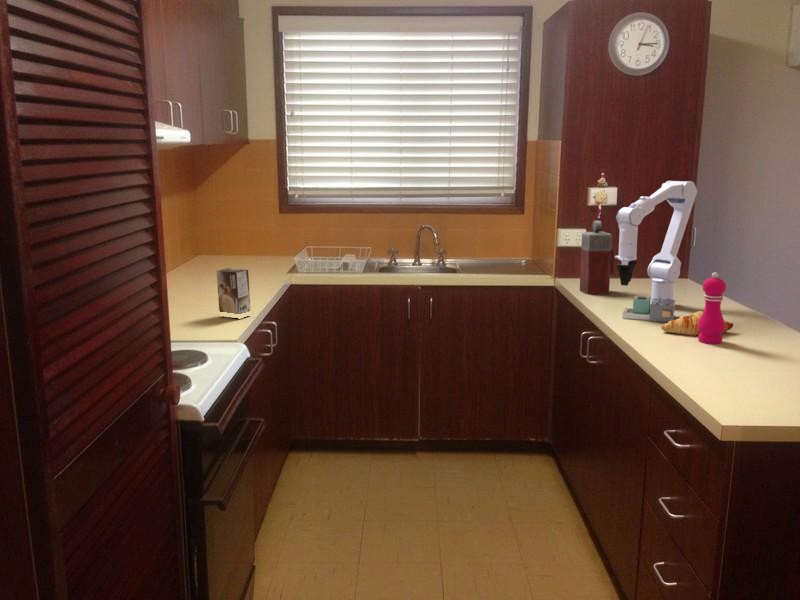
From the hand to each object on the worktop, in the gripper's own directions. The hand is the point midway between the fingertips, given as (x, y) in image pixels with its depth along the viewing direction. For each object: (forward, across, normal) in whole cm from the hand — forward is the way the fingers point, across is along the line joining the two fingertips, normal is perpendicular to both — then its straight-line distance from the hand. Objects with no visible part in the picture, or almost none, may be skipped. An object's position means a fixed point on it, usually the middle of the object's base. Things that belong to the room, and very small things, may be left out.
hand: (625, 283), depth 240 cm
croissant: (+10, +22, +23) cm, 33 cm away
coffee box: (+10, +54, -121) cm, 133 cm away
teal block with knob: (+9, +6, +6) cm, 12 cm away
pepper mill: (+10, +32, +27) cm, 43 cm away
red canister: (+10, -34, -14) cm, 38 cm away
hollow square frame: (+10, +7, +8) cm, 14 cm away
